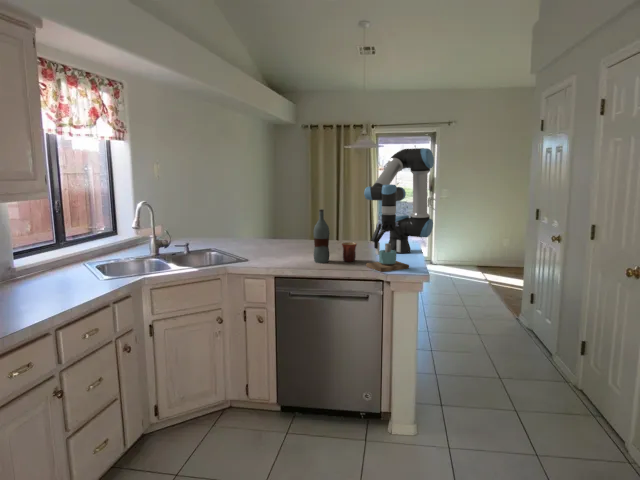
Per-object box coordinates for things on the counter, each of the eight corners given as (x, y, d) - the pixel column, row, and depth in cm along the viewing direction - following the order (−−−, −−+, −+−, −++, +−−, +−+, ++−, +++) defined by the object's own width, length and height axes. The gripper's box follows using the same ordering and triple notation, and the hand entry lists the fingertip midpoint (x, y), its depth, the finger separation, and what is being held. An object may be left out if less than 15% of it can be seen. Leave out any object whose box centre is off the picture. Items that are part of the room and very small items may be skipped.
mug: (342, 259, 267) (342, 242, 265) (357, 259, 265) (357, 242, 263) (339, 263, 255) (339, 245, 254) (355, 264, 253) (355, 246, 252)
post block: (393, 263, 255) (394, 240, 252) (409, 268, 242) (409, 244, 240) (366, 266, 247) (366, 243, 245) (380, 272, 234) (381, 247, 232)
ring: (389, 260, 250) (389, 249, 249) (398, 262, 242) (399, 251, 241) (376, 261, 246) (376, 250, 245) (385, 264, 238) (385, 253, 237)
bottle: (326, 263, 254) (326, 210, 250) (311, 262, 258) (310, 210, 253) (331, 260, 263) (331, 209, 258) (316, 259, 266) (316, 208, 261)
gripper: (403, 211, 249) (402, 249, 252) (364, 214, 238) (364, 254, 242) (412, 213, 242) (411, 252, 246) (372, 216, 231) (372, 256, 235)
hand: (388, 253), depth 244 cm, fingers open, 13 cm apart
